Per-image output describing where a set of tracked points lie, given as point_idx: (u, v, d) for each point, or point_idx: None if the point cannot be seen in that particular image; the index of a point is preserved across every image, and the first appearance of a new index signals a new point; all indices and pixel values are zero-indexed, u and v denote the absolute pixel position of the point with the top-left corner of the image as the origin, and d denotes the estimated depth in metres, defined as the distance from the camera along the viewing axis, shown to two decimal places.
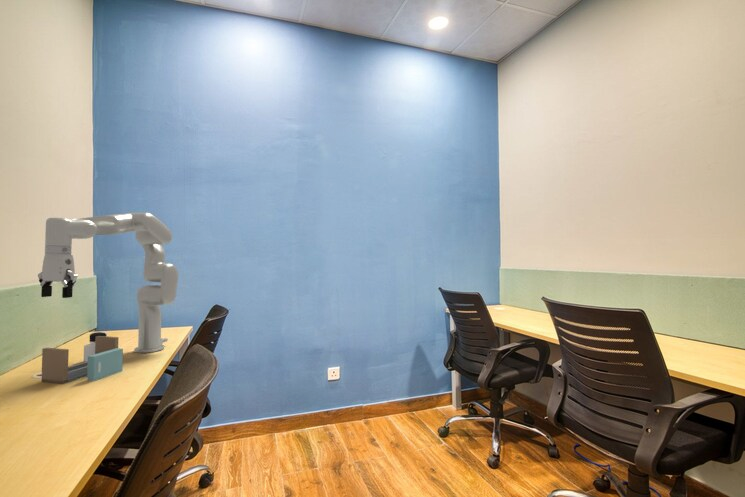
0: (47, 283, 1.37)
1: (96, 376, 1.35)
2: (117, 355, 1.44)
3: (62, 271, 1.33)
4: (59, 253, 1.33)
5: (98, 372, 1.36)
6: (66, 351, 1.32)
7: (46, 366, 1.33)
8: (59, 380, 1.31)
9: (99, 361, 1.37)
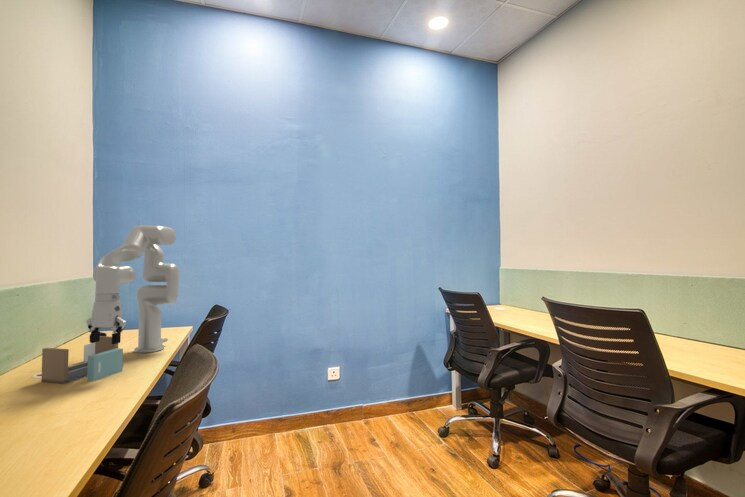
0: (95, 329, 1.42)
1: (96, 376, 1.35)
2: (117, 355, 1.44)
3: (112, 318, 1.38)
4: (109, 301, 1.38)
5: (98, 372, 1.36)
6: (66, 351, 1.32)
7: (46, 366, 1.33)
8: (59, 380, 1.31)
9: (99, 361, 1.37)
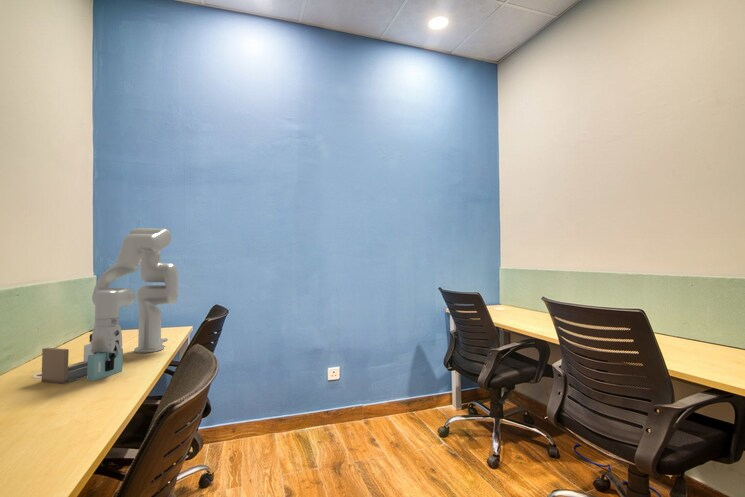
0: None
1: (96, 375, 1.35)
2: (117, 355, 1.44)
3: (112, 343, 1.38)
4: (108, 325, 1.38)
5: (98, 372, 1.36)
6: (66, 351, 1.32)
7: (46, 366, 1.33)
8: (59, 380, 1.31)
9: (99, 361, 1.37)
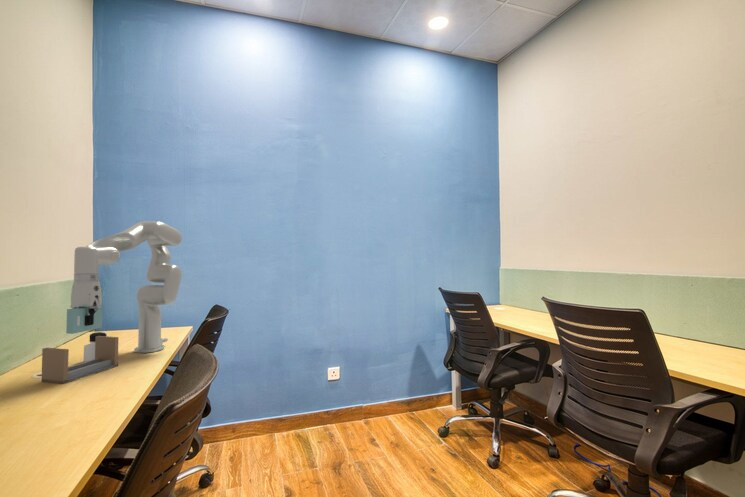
0: None
1: (75, 329, 1.38)
2: (97, 311, 1.47)
3: (91, 297, 1.41)
4: (88, 280, 1.41)
5: (77, 325, 1.39)
6: (66, 351, 1.32)
7: (46, 366, 1.33)
8: (59, 380, 1.31)
9: (78, 315, 1.39)
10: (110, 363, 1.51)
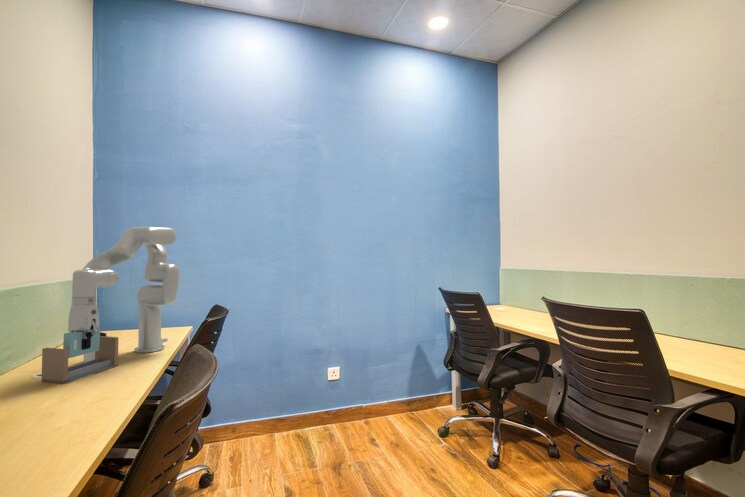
0: None
1: (72, 353, 1.37)
2: (94, 334, 1.46)
3: (88, 321, 1.40)
4: (85, 304, 1.41)
5: (74, 349, 1.38)
6: (66, 351, 1.32)
7: (46, 366, 1.33)
8: (59, 380, 1.31)
9: (75, 339, 1.39)
10: (110, 363, 1.51)
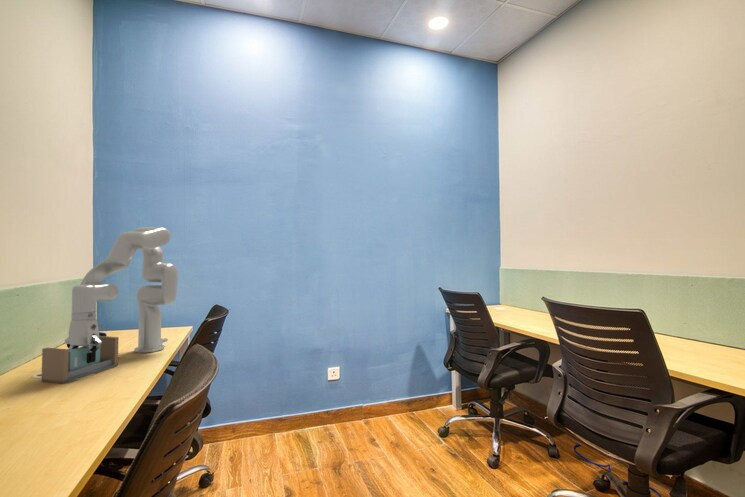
0: (74, 347, 1.44)
1: None
2: None
3: (88, 337, 1.40)
4: (85, 319, 1.41)
5: (74, 367, 1.38)
6: (66, 351, 1.32)
7: (46, 366, 1.33)
8: (59, 380, 1.31)
9: (76, 356, 1.39)
10: (110, 363, 1.51)
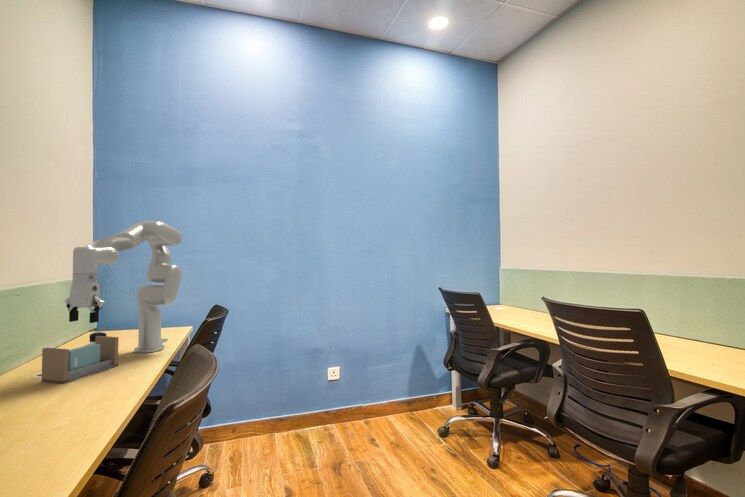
0: (74, 308, 1.45)
1: None
2: (94, 351, 1.46)
3: (89, 298, 1.41)
4: (86, 281, 1.41)
5: (74, 367, 1.38)
6: (66, 351, 1.32)
7: (46, 366, 1.33)
8: (59, 380, 1.31)
9: (76, 356, 1.39)
10: (110, 363, 1.51)
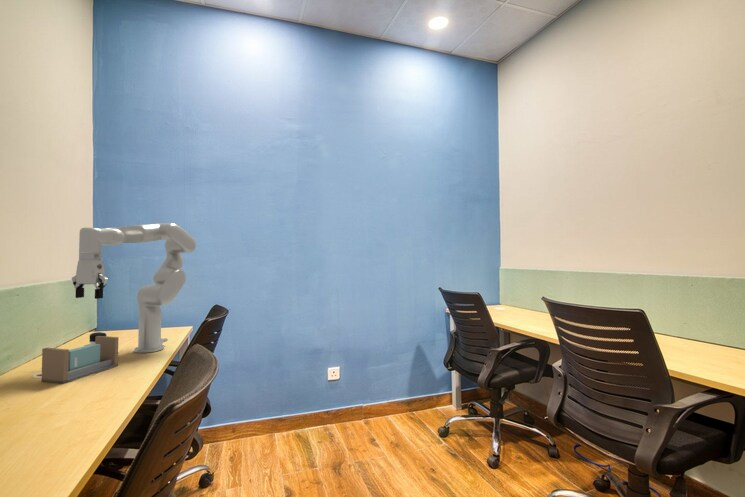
0: (80, 285, 1.54)
1: None
2: (94, 351, 1.46)
3: (94, 275, 1.50)
4: (92, 259, 1.50)
5: (74, 367, 1.38)
6: (66, 351, 1.32)
7: (46, 366, 1.33)
8: (59, 380, 1.31)
9: (76, 356, 1.39)
10: (110, 363, 1.51)
